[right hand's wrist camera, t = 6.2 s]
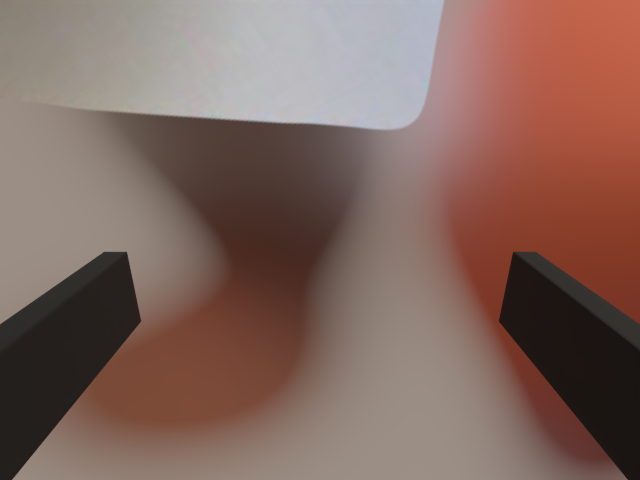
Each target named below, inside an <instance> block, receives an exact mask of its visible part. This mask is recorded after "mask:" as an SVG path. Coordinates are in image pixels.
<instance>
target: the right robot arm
mask: <svg viewBox="0 0 640 480" xmlns="http://www.w3.org/2000/svg"><path fill="white" fill-rule="evenodd" d="M140 322H141V318H140V314H139V309H138V304H137V299H136V294H135V289H134V284H133V280H132V275H131V270H130V265H129V260H128V255H127V252H103V253H102V254H101V255H99V256H98V257H96V258H95V259H93V260H92V261H91V262H89V263H88V264H86V265H85V266H83V267H82V268H81V269H79V270H78V271H76V272H75V273H73V274H72V275H70V276H69V277H68V278H66V279H65V280H63V281H62V282H60V283H59V284H58V285H56V286H55V287H53V288H52V289H50V290H49V291H48V292H46V293H45V294H43V295H42V296H40V297H39V298H38V299H36V300H35V301H33V302H32V303H30V304H29V305H27V306H26V307H25V308H23V309H22V310H20V311H19V312H17V313H16V314H14V315H13V316H12V317H10V318H9V319H7V320H6V321H4V322H3V323H2V324H0V480H12V479H13V478H14V477H15V475H16V474H17V473H18V472H19V470H20V469H21V468H22V467H23V466H24V464H25V463H26V462H27V461H28V459H29V458H30V457H31V456H32V455H33V453H34V452H35V451H36V450H37V448H38V447H39V446H40V445H41V443H42V442H43V441H44V440H45V439H46V437H47V436H48V435H49V434H50V432H51V431H52V430H53V429H54V428H55V426H56V425H57V424H58V423H59V421H60V420H61V419H62V418H63V416H64V415H65V414H66V413H67V412H68V410H69V409H70V408H71V407H72V405H73V404H74V403H75V402H76V401H77V399H78V398H79V397H80V396H81V394H82V393H83V392H84V391H85V389H86V388H87V387H88V386H89V385H90V383H91V382H92V381H93V380H94V378H95V377H96V376H97V375H98V374H99V372H100V371H101V370H102V369H103V367H104V366H105V365H106V364H107V363H108V361H109V360H110V359H111V358H112V356H113V355H114V354H115V353H116V351H117V350H118V349H119V348H120V347H121V345H122V344H123V343H124V342H125V340H126V339H127V338H128V337H129V335H130V334H131V333H132V332H133V331H134V329H135V328H136V327H137V326H138V324H139V323H140ZM499 322H500V323H501V324H502V326H503V327H504V328H505V329H506V331H507V332H508V333H509V334H510V336H511V337H512V338H513V339H514V340H515V342H516V343H517V344H518V345H519V347H520V348H521V349H522V350H523V351H524V353H525V354H526V355H527V356H528V358H529V359H530V360H531V361H532V362H533V364H534V365H535V366H536V367H537V369H538V370H539V371H540V372H541V374H542V375H543V376H544V377H545V378H546V380H547V381H548V382H549V383H550V385H551V386H552V387H553V388H554V390H555V391H556V392H557V393H558V394H559V396H560V397H561V398H562V399H563V401H564V402H565V403H566V404H567V405H568V407H569V408H570V409H571V410H572V412H573V413H574V414H575V415H576V417H577V418H578V419H579V420H580V421H581V423H582V424H583V425H584V426H585V428H586V429H587V430H588V431H589V432H590V434H591V435H592V436H593V437H594V439H595V440H596V441H597V442H598V444H599V445H600V446H601V447H602V448H603V450H604V451H605V452H606V453H607V455H608V456H609V457H610V458H611V459H612V461H613V462H614V463H615V464H616V466H617V467H618V468H619V469H620V471H621V472H622V473H623V474H624V475H625V477H626V478H627V479H628V480H640V324H638V323H637V322H636V321H634V320H633V319H631V318H630V317H628V316H627V315H626V314H624V313H623V312H621V311H620V310H618V309H617V308H615V307H614V306H613V305H611V304H610V303H608V302H607V301H605V300H604V299H603V298H601V297H600V296H598V295H597V294H595V293H594V292H593V291H591V290H590V289H588V288H587V287H585V286H584V285H582V284H581V283H580V282H578V281H577V280H575V279H574V278H572V277H571V276H570V275H568V274H567V273H565V272H564V271H562V270H561V269H559V268H558V267H557V266H555V265H554V264H552V263H551V262H549V261H548V260H547V259H545V258H544V257H542V256H541V255H539V254H538V253H537V252H513V255H512V260H511V265H510V270H509V275H508V280H507V285H506V289H505V294H504V299H503V304H502V309H501V314H500V319H499Z"/></svg>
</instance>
